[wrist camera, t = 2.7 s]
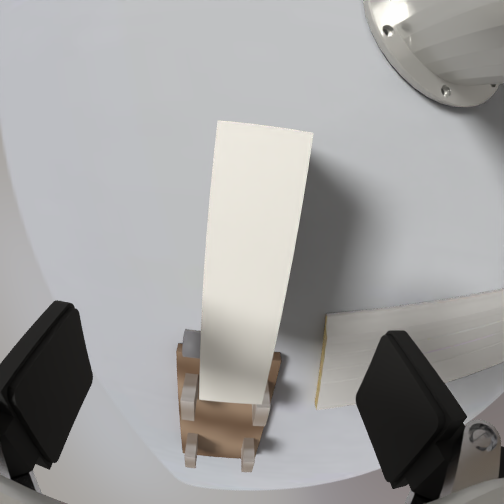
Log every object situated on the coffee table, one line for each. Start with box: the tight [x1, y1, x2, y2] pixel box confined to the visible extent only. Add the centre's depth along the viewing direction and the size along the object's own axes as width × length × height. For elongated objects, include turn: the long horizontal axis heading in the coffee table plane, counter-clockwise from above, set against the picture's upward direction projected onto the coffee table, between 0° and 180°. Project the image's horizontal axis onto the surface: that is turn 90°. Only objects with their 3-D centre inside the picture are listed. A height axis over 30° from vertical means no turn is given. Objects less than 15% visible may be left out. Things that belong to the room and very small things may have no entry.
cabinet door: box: [182, 120, 313, 405], centre depth 15 cm, size 12×4×9 cm, turn 173°
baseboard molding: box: [315, 288, 504, 410], centre depth 23 cm, size 31×3×12 cm
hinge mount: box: [176, 343, 281, 472], centre depth 24 cm, size 16×8×4 cm, turn 173°
